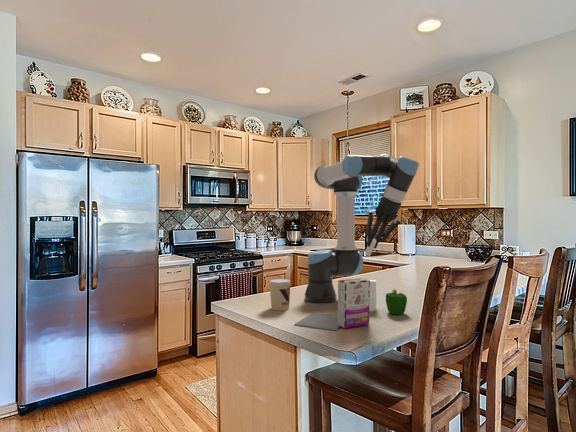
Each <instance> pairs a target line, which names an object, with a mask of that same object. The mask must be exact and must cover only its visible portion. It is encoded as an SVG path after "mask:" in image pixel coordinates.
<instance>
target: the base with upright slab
mask: <svg viewBox="0 0 576 432" xmlns="http://www.w3.org/2000/svg"><path fill="white" fill-rule="evenodd" d="M369 280H370V297H369V313H370V312H375V311H377V280H375V279H369Z"/></svg>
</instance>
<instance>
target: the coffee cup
mask: <svg viewBox="0 0 576 432" xmlns="http://www.w3.org/2000/svg"><path fill="white" fill-rule="evenodd" d="M291 283H292V282H291V280H290V279H287V278H273V279H270V280H269V282H268V284H269V295H270V304H271V305H270V306H271V309H272V310H273V309H276V310H275V311H284V310H283V309H287V310H289V309H290V300H291V299H290V298H291ZM288 308H289V309H288Z"/></svg>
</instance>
